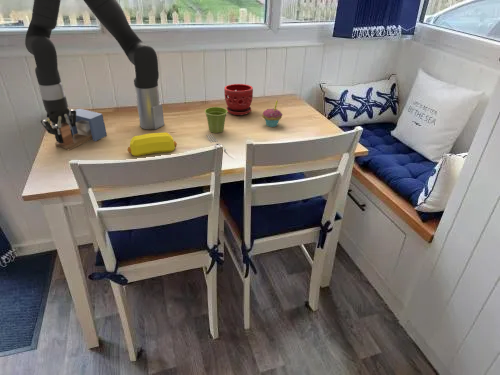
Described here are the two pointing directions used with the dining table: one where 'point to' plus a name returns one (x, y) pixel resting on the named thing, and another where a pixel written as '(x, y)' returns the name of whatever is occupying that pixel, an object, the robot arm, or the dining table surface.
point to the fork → (214, 140)
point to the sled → (75, 135)
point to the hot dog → (151, 144)
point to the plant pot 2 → (238, 98)
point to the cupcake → (272, 116)
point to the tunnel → (91, 123)
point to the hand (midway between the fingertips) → (65, 140)
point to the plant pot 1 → (216, 118)
